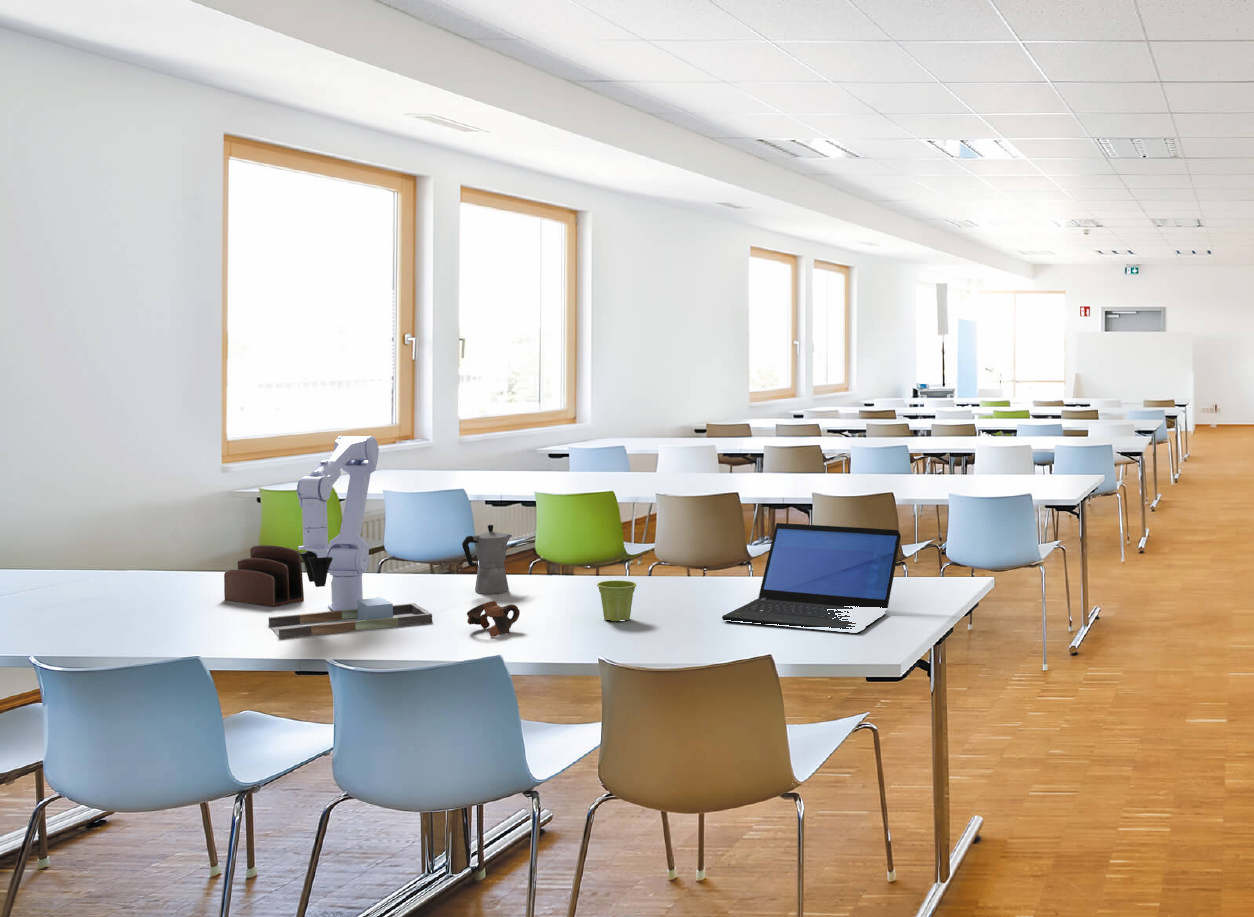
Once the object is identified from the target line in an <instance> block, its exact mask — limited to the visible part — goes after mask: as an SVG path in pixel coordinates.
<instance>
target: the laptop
mask: <svg viewBox="0 0 1254 917" xmlns="http://www.w3.org/2000/svg"><path fill="white" fill-rule="evenodd" d="M901 537H902V536H901V533H900V531H899V530H898V529H889V528H886V529H885V528H870V527H855V526H851V527H850V526H838V525H820V524H804V523H803V524H802V523H783V522H776V523H775V526H774V531H773V535H772V539H771V543H770V547H769V551H768V555H767V560H766V564H765V568H764V573H763V576H762V580H761V584H760V590H759V594H758V598H756V599H754V600H753V601H751V602H748V603H747V604H744V605H743V606H740V607H738V608H736V609H734V610H731V611H730V612H727V613H726V614H723V615H722V617H721V619H722V620H723V621H724V620H731V621H743V622H752V623H761V624H777V625H778V624H779V625H789V626H801V627H803V626H804V627H829V628H830V627H831V628H840V629H841V628H842V629H849V628H846V627H855V626H851V625H848V624H856V623H852V622H849V621H841V620H839V619H841V618H842V617H850V616H847V615H845V616H838V617H840V618H838V617H837V615H835V613H843V612H841V611H838V610H837V609H853V608H852V607H850V608H849V607H844V606H855V607H856V606H857V607H858V606H859V607H880V608H881V607H882V608H889V603H890V597H891V592H892V587H893V582H894V577H895V571H896V566H897V565H896V564H897V560H898V557H899V556H898V555H899V550H900V549H899V548H900V544H901ZM827 609H836V610H837V611H835V612H834V610H828V611H827ZM844 612H846V611H844ZM828 613H830V614H828ZM847 613H849V612H848V611H847ZM838 615H841V614H838ZM834 617H836V618H834ZM832 618H834V619H832ZM842 620H848V619H842ZM850 629H852V628H850Z"/></svg>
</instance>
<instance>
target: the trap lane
mask: <svg viewBox="0 0 1254 917" xmlns="http://www.w3.org/2000/svg"><path fill="white" fill-rule="evenodd" d="M350 619H358V611H357V609H349V610H339V611H333V610H330V611H329V610H328V611H322V612H321V611H320V612H310V613H299V614H290V615H280V616H269V617H268V627H269V628H270V629H271V630H272V631H273V632H274V633H275V634H276V636H277V637H278V638H279V639H287V638H289V639H290V638H297V637H307V636H317V635H325V634H334V633H335V634H336V633H346V632H355V631H363V630H365V631H366V630H373V629H384V628H385V629H386V628H393V627H402V626H411V625H421V624H430V623H433V613H431V612H429V611H428V610H426V609H425V608H423V607H421V606H420V605H419V604H416V603H415V602H413V603H412V602H411V603H403V604H402V603H401V604H393V617H389V618H379V619H369V620H360V621H359V620H353V621H352V620H351V621H343V622H331V621H339V620H350ZM327 621H328V622H329V621H330V622H331V623H322V624H312V625H311V624H310V625H302V624H308V623H319V622H327Z"/></svg>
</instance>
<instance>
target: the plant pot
mask: <svg viewBox="0 0 1254 917" xmlns="http://www.w3.org/2000/svg"><path fill="white" fill-rule="evenodd" d="M637 585H638V583H636V582H634V581H629V580H604V581H600V582H598V583H597V584H596V586H597V587H598V590H599V593H600V598H601V599H600V600H601V607H602V613H603V620H604V621H606V620H610V621H612V622H613V621H620V620H627V621H629V620H628V619H631V615H632V614H631V613H632V604H633V597H634V592H635V589H636V587H637Z"/></svg>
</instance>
